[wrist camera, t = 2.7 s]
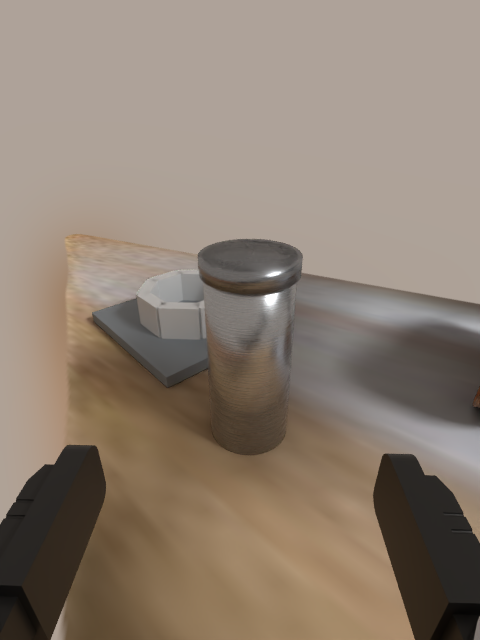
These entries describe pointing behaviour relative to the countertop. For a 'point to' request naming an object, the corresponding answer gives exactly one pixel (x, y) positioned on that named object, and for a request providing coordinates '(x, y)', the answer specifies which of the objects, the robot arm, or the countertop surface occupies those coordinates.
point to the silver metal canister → (249, 339)
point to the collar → (162, 326)
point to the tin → (477, 399)
